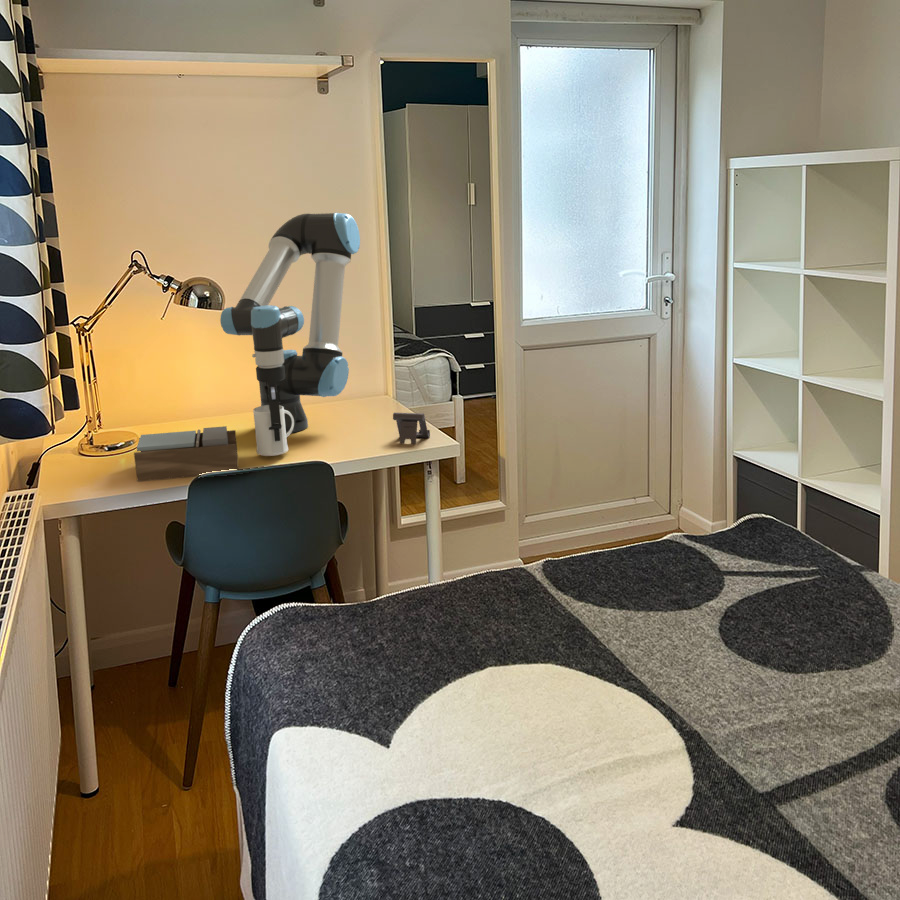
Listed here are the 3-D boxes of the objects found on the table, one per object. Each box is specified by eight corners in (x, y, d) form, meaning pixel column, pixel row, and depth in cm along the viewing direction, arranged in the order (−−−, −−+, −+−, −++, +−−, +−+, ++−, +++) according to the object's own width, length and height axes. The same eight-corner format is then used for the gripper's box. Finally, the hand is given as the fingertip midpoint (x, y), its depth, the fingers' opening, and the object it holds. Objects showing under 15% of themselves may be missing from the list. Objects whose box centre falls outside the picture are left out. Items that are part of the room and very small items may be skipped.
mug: (289, 442, 275) (285, 400, 271) (304, 448, 268) (301, 406, 265) (251, 451, 268) (246, 408, 265) (265, 458, 262) (261, 414, 258)
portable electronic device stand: (430, 437, 282) (429, 408, 280) (423, 444, 275) (421, 415, 272) (401, 436, 284) (400, 408, 282) (392, 443, 277) (391, 414, 275)
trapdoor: (228, 447, 266) (226, 426, 264) (228, 460, 254) (226, 438, 252) (143, 454, 262) (140, 433, 260) (139, 468, 249) (136, 445, 248)
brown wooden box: (142, 464, 264) (138, 434, 261) (237, 456, 268) (235, 426, 266) (137, 481, 249) (133, 449, 247) (238, 472, 254) (235, 441, 251)
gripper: (254, 358, 270) (262, 438, 276) (256, 374, 250) (265, 459, 257) (282, 356, 271) (289, 435, 278) (286, 372, 252) (294, 457, 258)
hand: (277, 447), depth 267 cm, fingers closed on mug, 8 cm apart
